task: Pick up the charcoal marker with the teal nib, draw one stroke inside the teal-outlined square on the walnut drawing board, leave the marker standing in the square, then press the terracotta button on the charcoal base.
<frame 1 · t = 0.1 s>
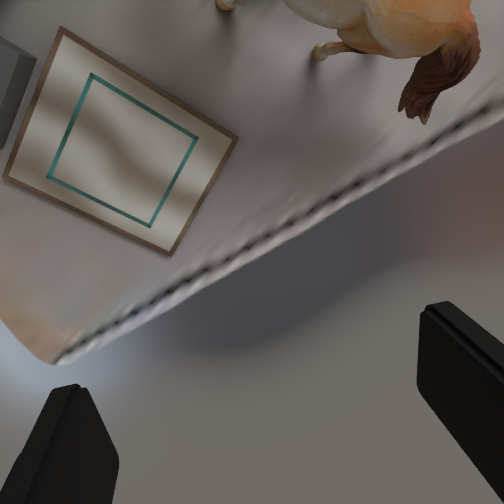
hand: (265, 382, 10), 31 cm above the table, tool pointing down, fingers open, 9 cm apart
board: (124, 156, 36), on the table
horse figurine: (272, 45, 35), on the table
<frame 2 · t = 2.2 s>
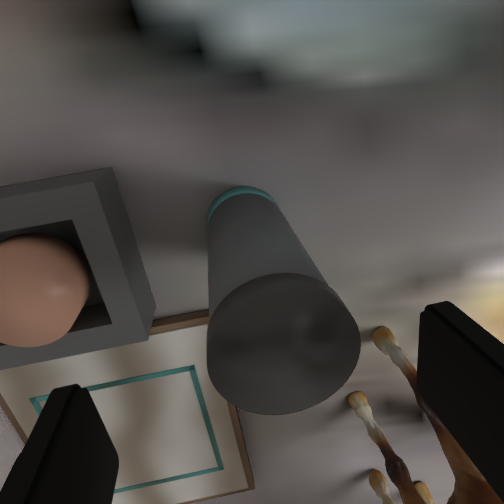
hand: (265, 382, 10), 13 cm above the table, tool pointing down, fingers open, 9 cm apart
board: (138, 426, 27), on the table
button: (30, 289, 17), point 4 cm above the table, slide at 0.0 cm
button base: (59, 257, 21), on the table
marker: (244, 222, 21), on the table
horse figurine: (352, 443, 31), on the table
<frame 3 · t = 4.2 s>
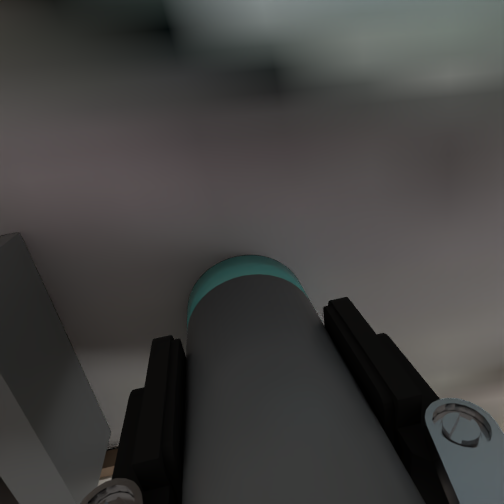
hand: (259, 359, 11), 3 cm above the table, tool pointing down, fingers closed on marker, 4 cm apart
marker: (246, 308, 13), on the table, touching gripper
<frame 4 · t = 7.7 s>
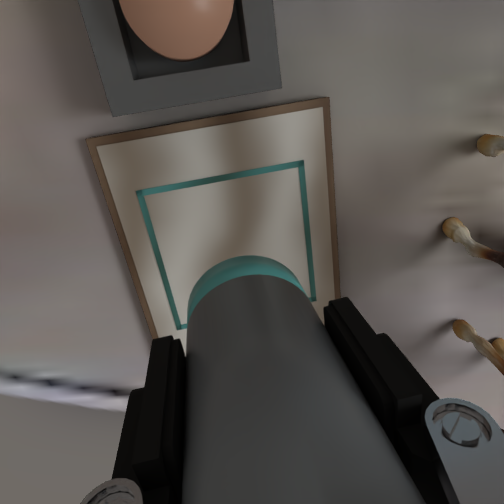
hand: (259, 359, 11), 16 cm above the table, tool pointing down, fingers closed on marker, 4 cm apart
board: (234, 246, 26), on the table
button base: (181, 15, 20), on the table
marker: (246, 308, 13), point 13 cm above the table, touching gripper
horse figurine: (438, 286, 31), on the table
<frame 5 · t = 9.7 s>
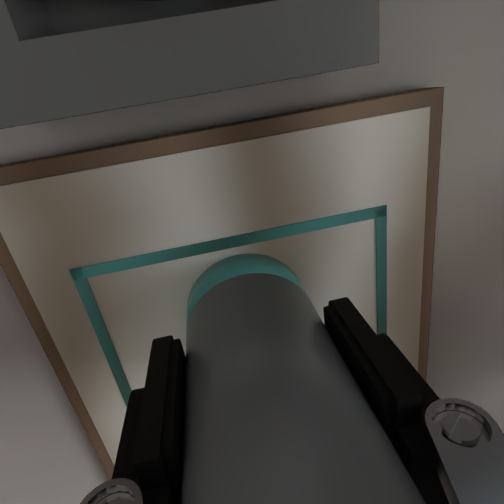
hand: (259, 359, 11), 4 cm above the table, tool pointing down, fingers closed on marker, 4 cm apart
board: (253, 346, 15), on the table
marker: (246, 307, 13), point 1 cm above the table, touching gripper
when the fingers open (5 cm above the table, at t = 11.3 s): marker drops 2 cm, resting on board.
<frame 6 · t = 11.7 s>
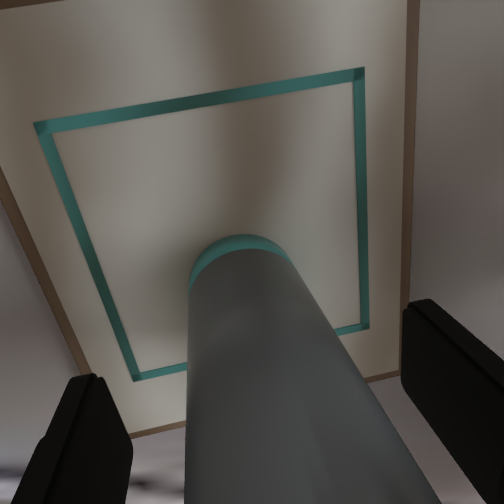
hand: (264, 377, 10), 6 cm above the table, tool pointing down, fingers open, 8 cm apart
board: (231, 236, 15), on the table
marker: (242, 284, 15), point 1 cm above the table, touching board
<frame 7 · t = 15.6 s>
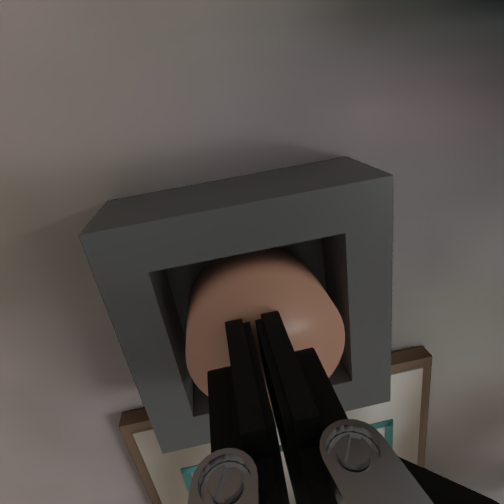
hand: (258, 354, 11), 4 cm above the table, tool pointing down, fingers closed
board: (295, 492, 21), on the table
button: (260, 327, 12), point 3 cm above the table, slide at 0.6 cm, touching gripper
button base: (248, 283, 15), on the table
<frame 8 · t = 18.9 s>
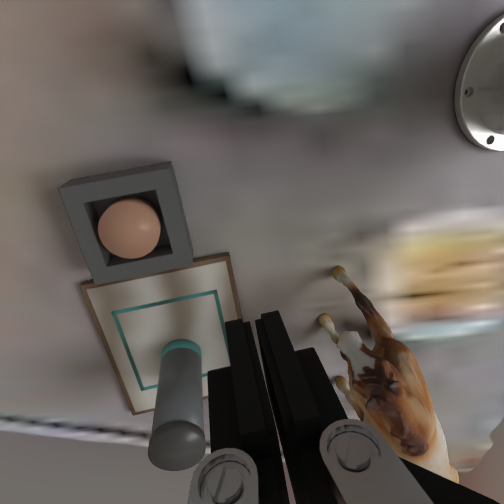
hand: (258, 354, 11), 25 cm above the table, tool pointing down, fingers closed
board: (177, 337, 40), on the table
button: (131, 226, 32), point 3 cm above the table, slide at 0.9 cm
button base: (136, 217, 34), on the table
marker: (181, 355, 40), point 1 cm above the table, touching board
horse figurine: (323, 355, 45), on the table
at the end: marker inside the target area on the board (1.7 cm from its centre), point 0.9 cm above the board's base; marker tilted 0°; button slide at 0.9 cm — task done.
